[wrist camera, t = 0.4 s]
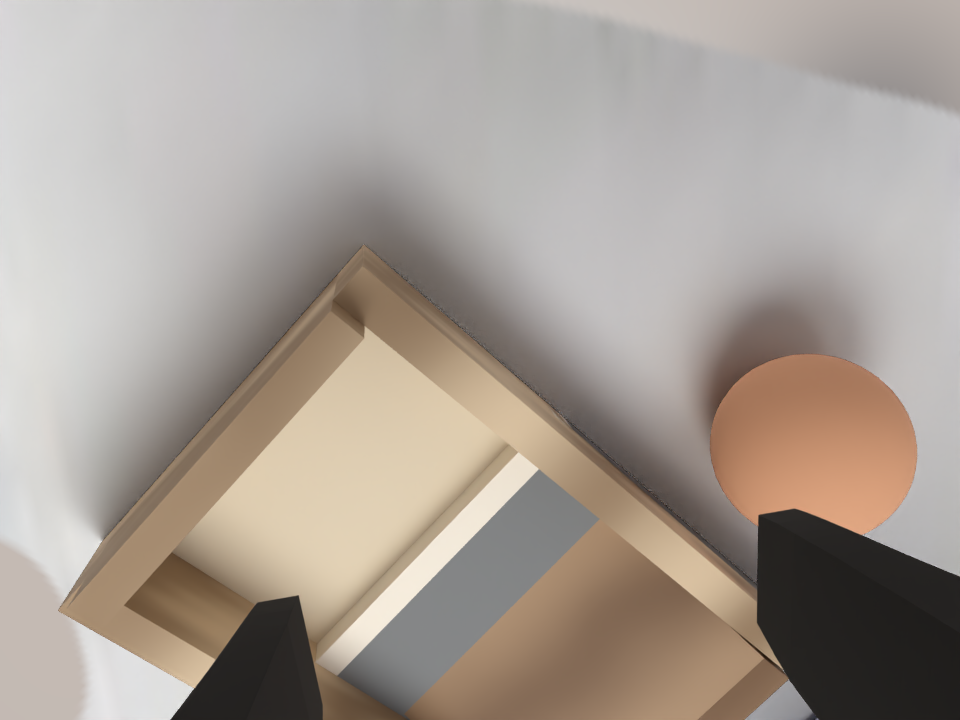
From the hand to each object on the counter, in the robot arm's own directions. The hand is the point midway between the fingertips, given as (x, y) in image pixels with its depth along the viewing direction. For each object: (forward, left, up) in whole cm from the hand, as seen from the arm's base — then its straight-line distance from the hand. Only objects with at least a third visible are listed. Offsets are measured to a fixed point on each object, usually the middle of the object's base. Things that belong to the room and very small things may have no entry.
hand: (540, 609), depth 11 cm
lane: (-4, +4, -10) cm, 11 cm away
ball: (-7, -5, -7) cm, 11 cm away
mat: (-4, +4, -10) cm, 11 cm away
